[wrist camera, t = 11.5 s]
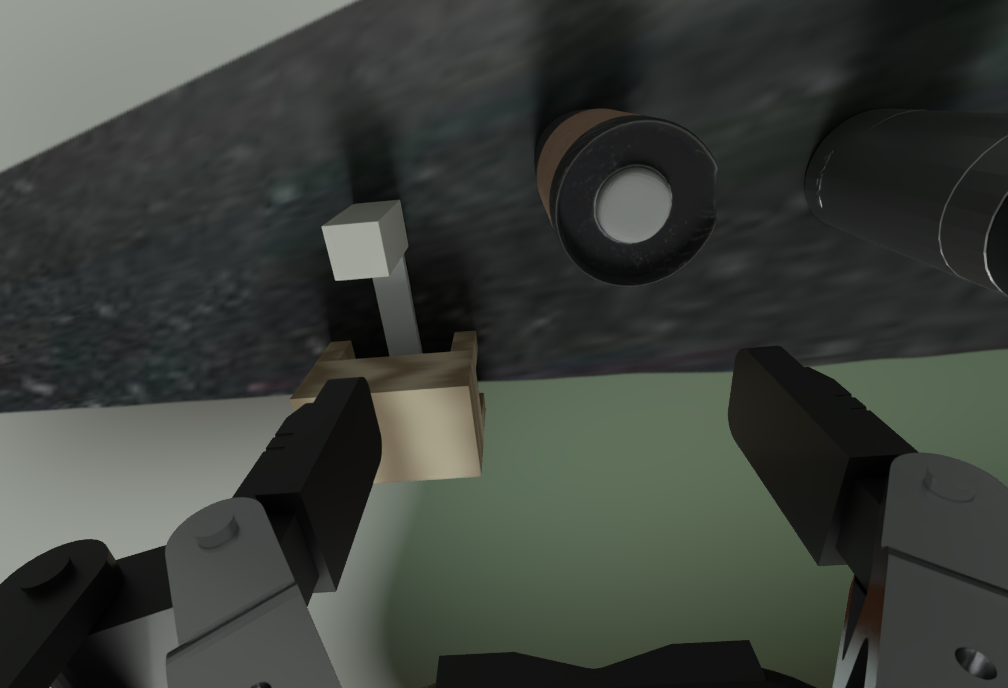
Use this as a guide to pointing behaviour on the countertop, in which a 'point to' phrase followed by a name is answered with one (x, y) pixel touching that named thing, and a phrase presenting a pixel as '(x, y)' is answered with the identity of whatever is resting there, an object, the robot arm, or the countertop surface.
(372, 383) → the notched wooden block
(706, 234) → the travel mug
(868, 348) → the countertop surface
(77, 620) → the robot arm
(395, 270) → the grey l-shaped block
